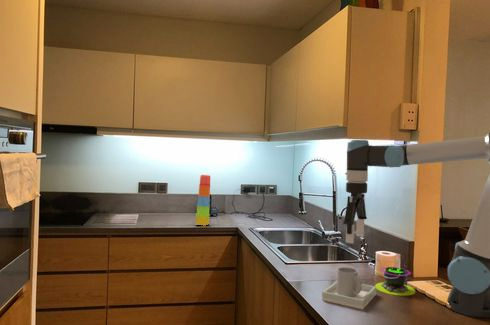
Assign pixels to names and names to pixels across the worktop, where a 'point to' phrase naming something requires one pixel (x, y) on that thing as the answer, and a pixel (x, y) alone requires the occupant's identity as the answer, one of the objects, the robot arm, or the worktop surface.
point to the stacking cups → (203, 201)
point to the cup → (348, 282)
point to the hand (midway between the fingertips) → (355, 239)
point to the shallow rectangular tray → (356, 302)
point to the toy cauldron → (395, 282)
